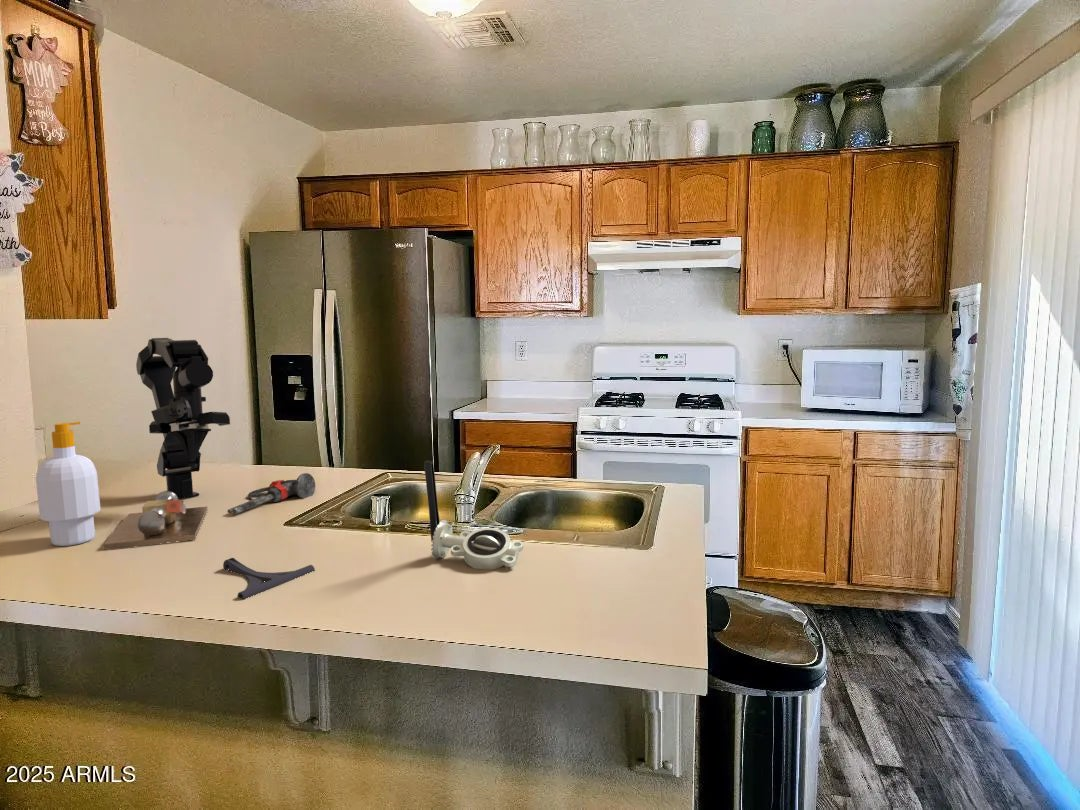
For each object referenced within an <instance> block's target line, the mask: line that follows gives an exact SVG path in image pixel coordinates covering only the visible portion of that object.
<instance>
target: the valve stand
mask: <svg viewBox="0 0 1080 810" xmlns="http://www.w3.org/2000/svg"><path fill="white" fill-rule="evenodd" d="M171 500H178V497H177V496H176V494H174V493H173V492H171V491H167V490H163V491H160V492H159V493H158V494H156V495H155V497H154V499H153V500H146V502H145V503H144V504H143V505H142V506H141V507H142V511H141V512H131V513H128V515H127V516H125V518H124V519H123V520H122V522H121V523H120V524H119V525H118V527H117V528H116V529H115V530H114V531H113V532H112V534H111V535H110V536H109V537H108V539H106V541H105V542H104V543H103V547H104V548H103V549H104V551H109V550H108V549H111V550H117V548H120V549H125V548H124V547H130V548H135V547H134V546H139V547H145V546H144V545H148V546H152V545H151V544H158V545H161V544H160V543H167V542H176V541H186V542H188V541H187V540H195V539H196V540H197V538H196V536H197V537H198V535H199V533H200V531H199V530H201V528H202V526H203V524H204V521H205V519H206V517H205V516H207V514H208V512H207V511H209V508H208V506H199V507H198V506H197V507H188V508H187V507H186V514H179V513H175V514H169V513H167V501H171ZM206 513H207V514H206ZM204 518H205V519H204ZM203 520H204V521H203ZM202 523H203V524H202ZM201 525H202V526H201ZM200 527H201V528H200ZM198 532H199V533H198ZM197 534H198V535H197ZM196 540H195V541H196ZM167 544H168V543H167Z"/></svg>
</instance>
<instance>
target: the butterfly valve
mask: <svg viewBox="0 0 1080 810" xmlns="http://www.w3.org/2000/svg"><path fill="white" fill-rule="evenodd" d="M423 466H424V475H425V485H426V494H427V495H426V497H427V505H428V513H429V514H428V515H429V528H430V530H429V531H430V541H431V545H430V547H431V549H430V550H431V555H432V559H434V560H438V559H439V558H445V557H446V556H447V555H448V553H449V551H450V555H451V556H452V557H463V559H464V561H465V563H466V564H467V565H468V566H469V567H471V568H472V569H477V570H496V569H499V568H501V567H503V566H504V567H506V568H512V567H514V566H516V563H517V561H518V559H519V555H520V554H519V553H521V552H523V551H524V542H523V541H521V540H511V537H510V536H509V534H508V533H507V532H505V531H503V530H502V529H499V528H494V527H483V528H478V529H475V530H473V531H468V530H465V531H462V532H460V533H459V535H456V534H455V535H454V533H453V531H454V530H453V525H452V524H451V523H448V521H447V520H446V519H441V520H440V514H439V505H438V504H439V503H438V494H437V485H436V475H435V467H434V461H432V460H425V461H424V463H423Z"/></svg>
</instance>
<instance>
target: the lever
mask: <svg viewBox="0 0 1080 810" xmlns="http://www.w3.org/2000/svg"><path fill="white" fill-rule="evenodd" d="M186 508H187V505H186V503H184V500H183V499H180V500H171V501H167V513H169V514H175V513H179V514H186Z"/></svg>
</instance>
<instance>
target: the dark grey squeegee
mask: <svg viewBox="0 0 1080 810" xmlns="http://www.w3.org/2000/svg"><path fill="white" fill-rule="evenodd" d="M222 565H223V567H222V568H223V570H224V569H225V570H224V571H226V570H228V569H229V570H228V571H227V572H230V571H232V572H231V573H233V572H235V573H234V574H236V573H238V574H237V575H240V574H242V575H241V576H243V575H245V576H244V577H245V578H246V579H247V580H248V582H249V583H248V585H247V587H246V588H245V589H244V590H242V591H239V592H237V598H238V597H240V598H242V600H243V599H244V600H246V598H247V599H249V598H251V596H252V597H254V596H256V594H257V595H259V594H261V592H262V593H264V592H267V591H269V590H272V589H273V588H277V587H279V586H281V585H285V584H286V583H288V582H291V581H293V580H296V579H299V578H301V577H304V576H305V574H306V575H308V574H311V573H313V572H315V570H316V569H315V566H314V565H312V564H309V565H306V566H304V567H302V568H299V569H296V570H291V571H280V572H279V571H278V572H265V571H258V570H257V571H256V570H254V569H252V568H250V567H249V566H246V565H245V564H244V563H242V562H240V561H238V560H237V559H236V558H235V557H230V558H228V559H226V560H225V559H224V561H223V563H222ZM312 571H313V572H312ZM310 572H311V573H310ZM307 573H308V574H307ZM300 576H301V577H300ZM298 577H299V578H298ZM295 578H296V579H295ZM264 581H265V582H264ZM262 582H263V583H262ZM261 583H262V584H261ZM266 590H267V591H266ZM258 593H259V594H258ZM253 595H254V596H253ZM241 596H243V597H241ZM248 597H249V598H248Z"/></svg>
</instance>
